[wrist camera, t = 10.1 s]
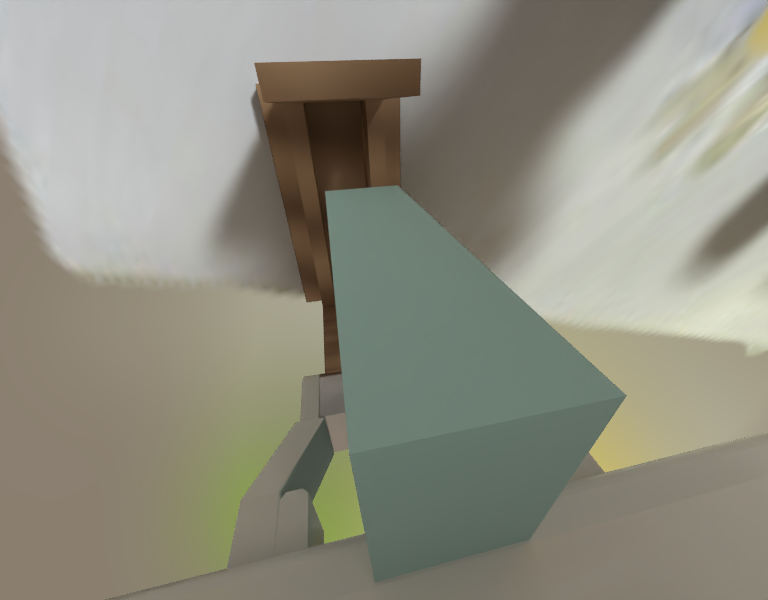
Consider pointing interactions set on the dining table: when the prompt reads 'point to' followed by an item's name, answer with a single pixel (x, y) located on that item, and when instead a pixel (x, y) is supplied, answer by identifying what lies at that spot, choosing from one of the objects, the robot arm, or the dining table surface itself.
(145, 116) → the dining table surface
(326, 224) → the wooden u-shaped stand
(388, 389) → the door panel
